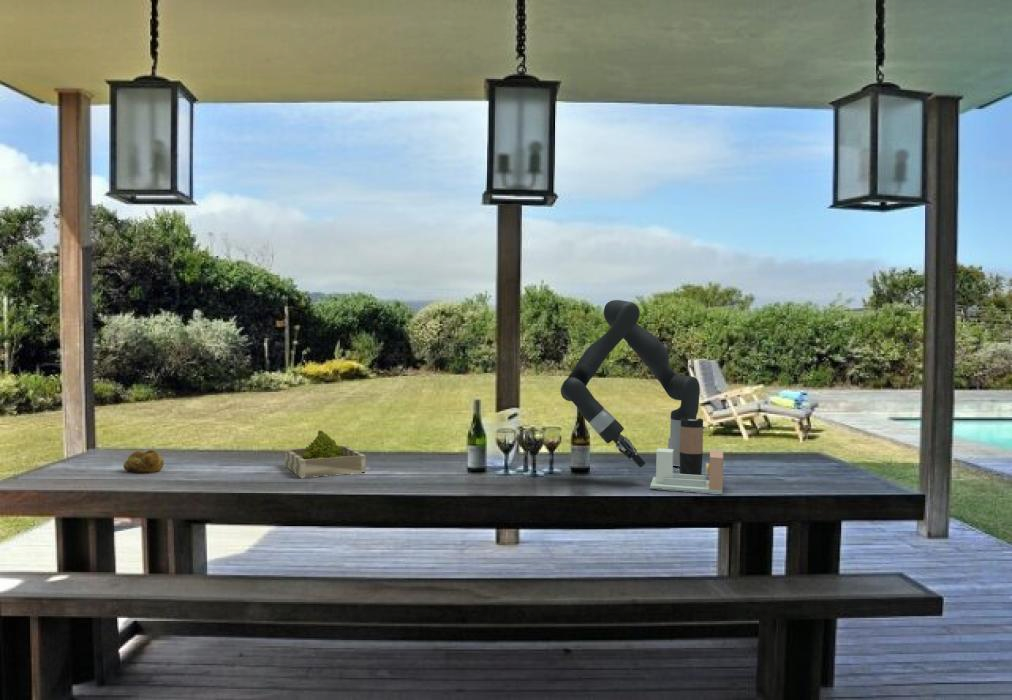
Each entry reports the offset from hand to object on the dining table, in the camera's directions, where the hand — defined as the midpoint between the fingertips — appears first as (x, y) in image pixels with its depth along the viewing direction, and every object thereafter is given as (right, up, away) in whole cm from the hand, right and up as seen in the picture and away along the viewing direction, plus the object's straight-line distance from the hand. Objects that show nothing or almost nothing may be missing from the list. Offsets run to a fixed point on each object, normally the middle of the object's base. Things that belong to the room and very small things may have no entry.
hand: (643, 465), depth 256 cm
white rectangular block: (+7, -5, -2) cm, 8 cm away
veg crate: (-108, -4, +18) cm, 109 cm away
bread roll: (-168, -4, +12) cm, 168 cm away
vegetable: (-108, -5, +19) cm, 110 cm away
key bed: (+13, -7, -3) cm, 15 cm away
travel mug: (+19, -6, +14) cm, 24 cm away
